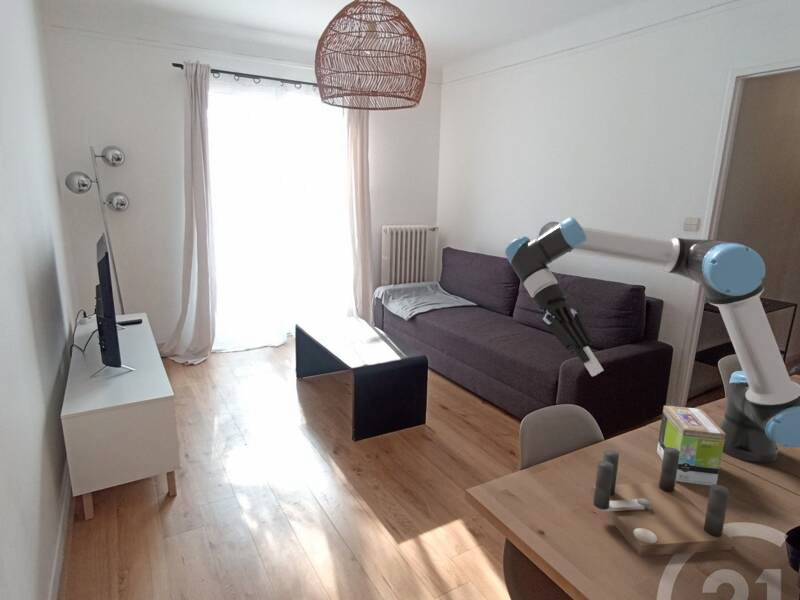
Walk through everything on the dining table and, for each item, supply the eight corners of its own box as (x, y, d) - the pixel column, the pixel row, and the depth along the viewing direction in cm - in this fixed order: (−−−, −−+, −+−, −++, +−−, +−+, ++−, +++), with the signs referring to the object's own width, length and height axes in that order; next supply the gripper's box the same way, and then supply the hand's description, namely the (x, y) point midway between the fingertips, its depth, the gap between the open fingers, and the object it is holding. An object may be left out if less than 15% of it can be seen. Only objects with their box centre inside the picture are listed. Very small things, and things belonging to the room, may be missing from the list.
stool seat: (668, 490, 116) (674, 444, 114) (731, 549, 97) (741, 495, 94) (590, 495, 114) (595, 448, 112) (639, 556, 95) (646, 501, 92)
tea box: (718, 487, 118) (727, 433, 115) (674, 482, 120) (682, 429, 117) (694, 455, 132) (701, 407, 129) (655, 451, 134) (662, 403, 131)
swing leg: (644, 501, 108) (650, 458, 105) (652, 510, 105) (659, 466, 102) (590, 504, 106) (595, 460, 104) (597, 513, 103) (602, 469, 101)
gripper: (551, 296, 126) (602, 375, 116) (518, 302, 118) (569, 386, 109) (570, 280, 120) (625, 360, 111) (537, 284, 113) (593, 371, 103)
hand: (597, 373), depth 110 cm, fingers closed
